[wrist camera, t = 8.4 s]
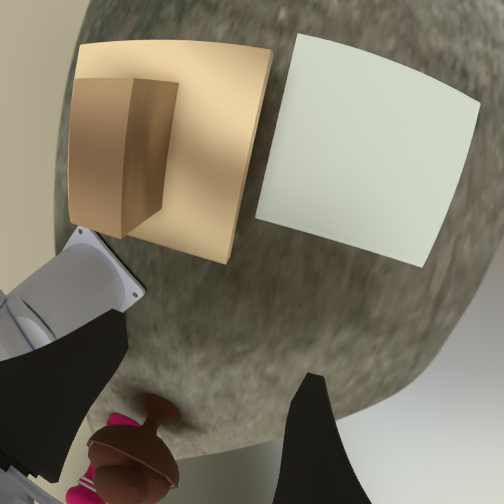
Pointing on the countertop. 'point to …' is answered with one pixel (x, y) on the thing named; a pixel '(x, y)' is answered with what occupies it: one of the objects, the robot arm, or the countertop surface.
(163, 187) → the lid
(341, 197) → the mat
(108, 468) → the ice cream bowl
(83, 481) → the pepper mill
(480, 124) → the countertop surface
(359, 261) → the countertop surface
